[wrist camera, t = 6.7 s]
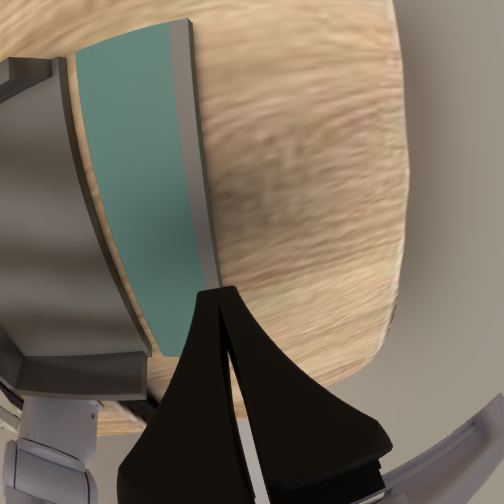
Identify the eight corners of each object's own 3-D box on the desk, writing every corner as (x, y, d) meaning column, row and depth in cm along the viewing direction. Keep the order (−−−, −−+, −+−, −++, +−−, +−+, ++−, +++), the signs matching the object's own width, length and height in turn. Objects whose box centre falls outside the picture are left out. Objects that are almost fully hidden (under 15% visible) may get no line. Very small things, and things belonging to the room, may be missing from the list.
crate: (152, 347, 21) (151, 398, 17) (26, 354, 19) (14, 393, 15) (65, 57, 9) (15, 52, 5) (-73, 150, 7) (-112, 176, 3)
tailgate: (165, 346, 21) (232, 346, 21) (163, 356, 20) (232, 357, 20) (86, 52, 9) (192, 23, 9) (74, 52, 8) (187, 18, 8)
